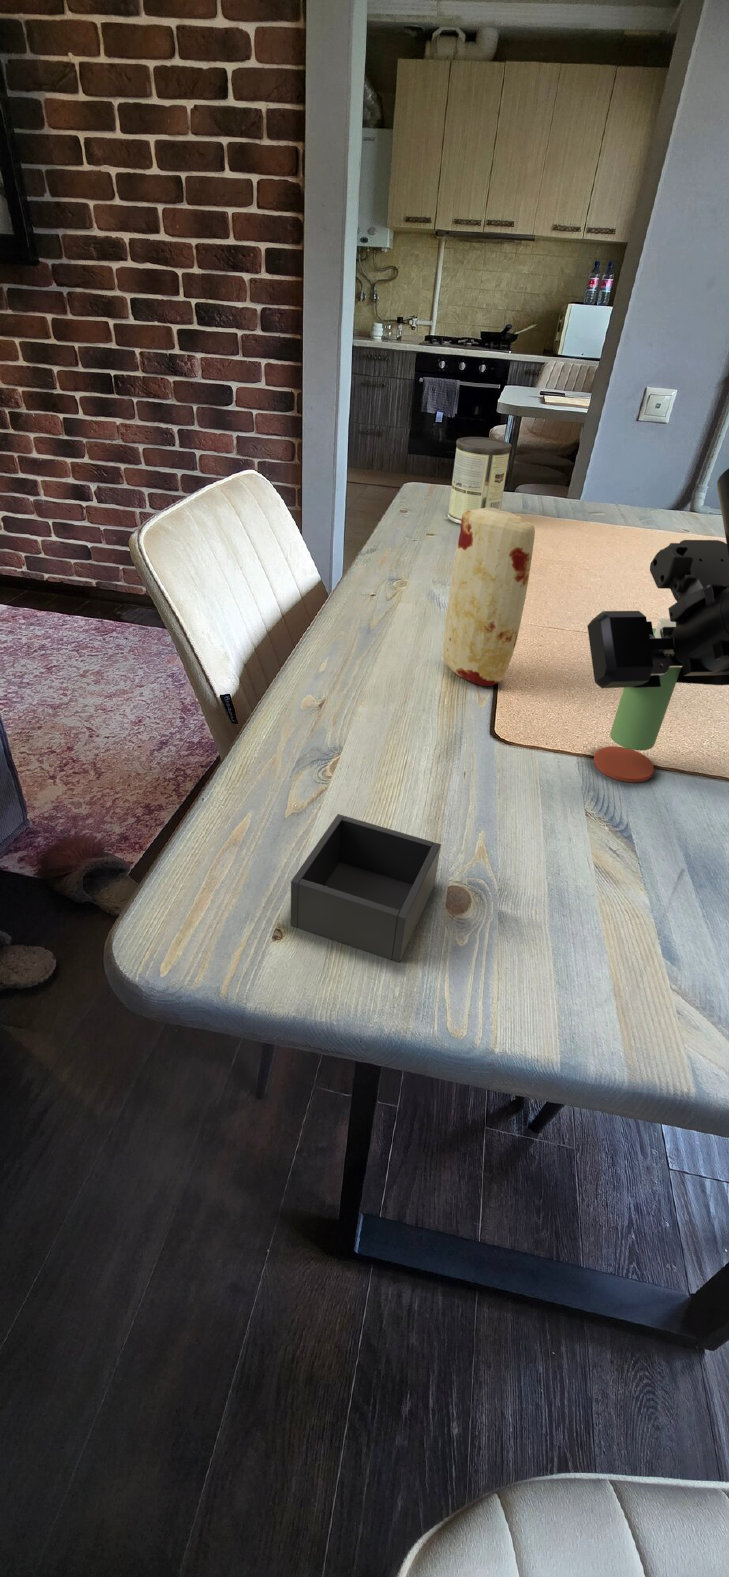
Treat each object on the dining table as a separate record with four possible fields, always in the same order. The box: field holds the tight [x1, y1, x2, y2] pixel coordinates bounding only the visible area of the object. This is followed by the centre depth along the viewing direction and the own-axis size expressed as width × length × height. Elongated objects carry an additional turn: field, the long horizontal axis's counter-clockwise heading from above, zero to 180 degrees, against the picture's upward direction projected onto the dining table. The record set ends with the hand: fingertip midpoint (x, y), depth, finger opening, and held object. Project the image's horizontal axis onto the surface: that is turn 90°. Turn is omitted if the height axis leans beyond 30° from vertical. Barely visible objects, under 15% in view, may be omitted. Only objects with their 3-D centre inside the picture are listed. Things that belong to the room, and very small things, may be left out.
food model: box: [442, 507, 536, 687], centre depth 85 cm, size 10×7×20 cm
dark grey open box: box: [290, 813, 442, 964], centre depth 56 cm, size 9×9×5 cm
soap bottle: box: [609, 618, 681, 751], centre depth 71 cm, size 4×4×12 cm
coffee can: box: [447, 436, 513, 525], centre depth 142 cm, size 10×10×14 cm
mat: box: [593, 746, 655, 784], centre depth 76 cm, size 6×6×1 cm
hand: (643, 677), depth 72 cm, fingers closed on soap bottle, 4 cm apart
